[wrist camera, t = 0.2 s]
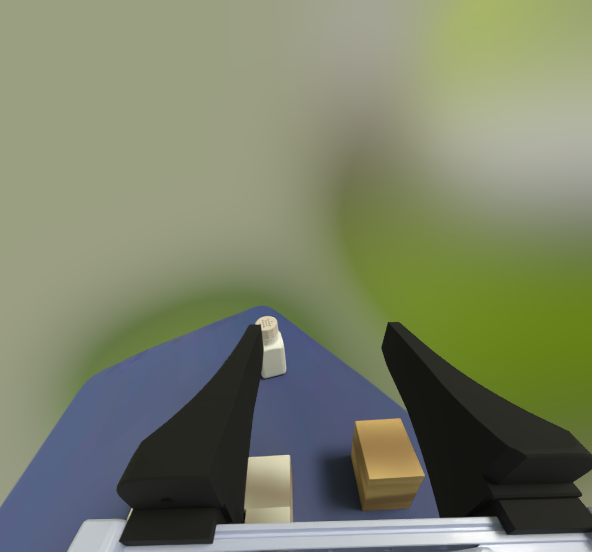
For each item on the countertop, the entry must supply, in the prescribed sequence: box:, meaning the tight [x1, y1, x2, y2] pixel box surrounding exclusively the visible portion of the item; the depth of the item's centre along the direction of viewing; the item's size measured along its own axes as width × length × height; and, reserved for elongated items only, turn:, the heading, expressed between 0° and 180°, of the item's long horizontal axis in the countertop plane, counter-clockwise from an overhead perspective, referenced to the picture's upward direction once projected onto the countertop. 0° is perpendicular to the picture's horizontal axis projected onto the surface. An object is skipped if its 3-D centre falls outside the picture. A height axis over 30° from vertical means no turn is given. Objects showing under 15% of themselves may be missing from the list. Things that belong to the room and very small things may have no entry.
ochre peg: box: [351, 419, 425, 511], centre depth 22 cm, size 4×4×7 cm
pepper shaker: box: [255, 316, 286, 378], centre depth 34 cm, size 4×4×10 cm
